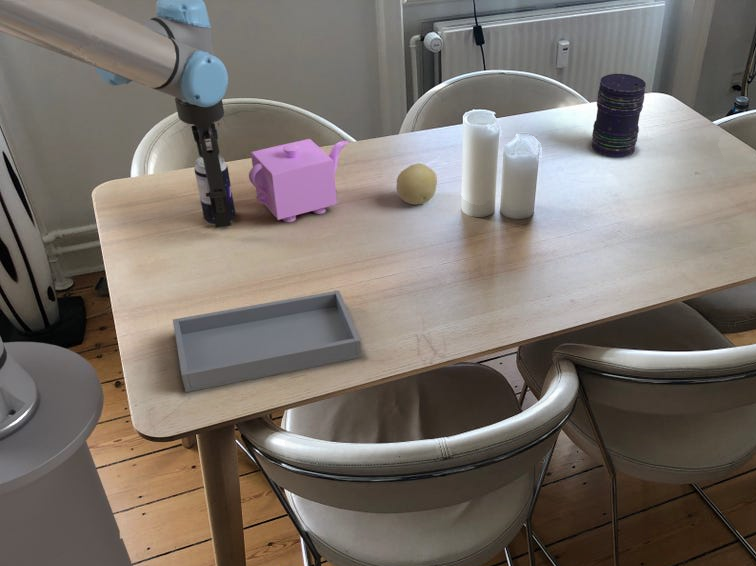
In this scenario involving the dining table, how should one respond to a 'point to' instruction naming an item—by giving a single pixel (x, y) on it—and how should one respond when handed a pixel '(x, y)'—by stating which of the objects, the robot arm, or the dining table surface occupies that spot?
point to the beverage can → (204, 189)
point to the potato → (416, 184)
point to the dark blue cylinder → (618, 115)
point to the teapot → (295, 178)
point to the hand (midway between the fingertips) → (218, 208)
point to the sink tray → (264, 340)
